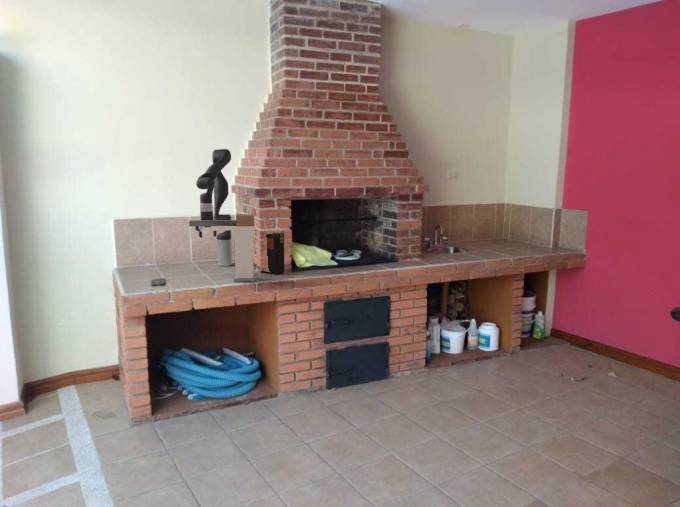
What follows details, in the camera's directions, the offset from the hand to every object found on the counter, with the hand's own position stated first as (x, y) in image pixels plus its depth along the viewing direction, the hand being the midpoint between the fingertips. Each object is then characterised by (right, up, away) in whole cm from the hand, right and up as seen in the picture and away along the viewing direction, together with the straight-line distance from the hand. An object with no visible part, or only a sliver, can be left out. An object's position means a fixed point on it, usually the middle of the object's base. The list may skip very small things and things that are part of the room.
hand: (207, 237), depth 331 cm
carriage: (+14, +6, -23) cm, 27 cm away
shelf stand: (+19, -25, -16) cm, 36 cm away
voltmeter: (+38, -22, +5) cm, 45 cm away
